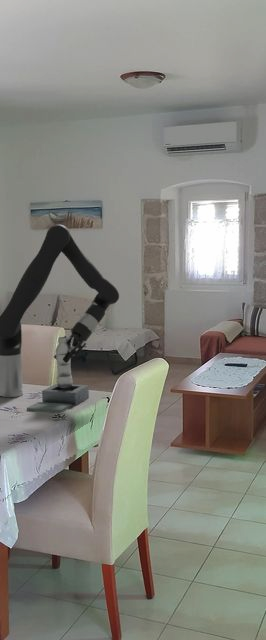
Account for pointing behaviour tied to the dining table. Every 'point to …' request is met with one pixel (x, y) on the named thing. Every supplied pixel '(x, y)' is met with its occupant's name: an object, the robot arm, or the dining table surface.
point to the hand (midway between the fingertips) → (60, 359)
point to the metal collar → (65, 394)
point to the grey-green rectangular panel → (49, 407)
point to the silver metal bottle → (63, 364)
